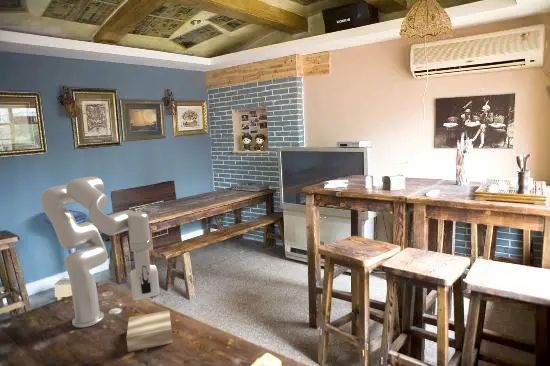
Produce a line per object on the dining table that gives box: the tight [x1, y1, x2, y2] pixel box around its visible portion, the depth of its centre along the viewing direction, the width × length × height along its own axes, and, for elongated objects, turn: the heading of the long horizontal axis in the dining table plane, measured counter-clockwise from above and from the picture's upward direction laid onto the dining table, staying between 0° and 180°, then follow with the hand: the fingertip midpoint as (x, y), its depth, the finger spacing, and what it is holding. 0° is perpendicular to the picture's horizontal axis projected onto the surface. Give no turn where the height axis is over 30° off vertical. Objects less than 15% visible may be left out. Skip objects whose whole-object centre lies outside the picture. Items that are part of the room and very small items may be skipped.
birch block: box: [125, 309, 173, 353], centre depth 151 cm, size 16×16×6 cm
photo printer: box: [129, 264, 160, 302], centre depth 148 cm, size 10×4×12 cm, turn 123°
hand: (145, 289), depth 148 cm, fingers closed on photo printer, 4 cm apart
